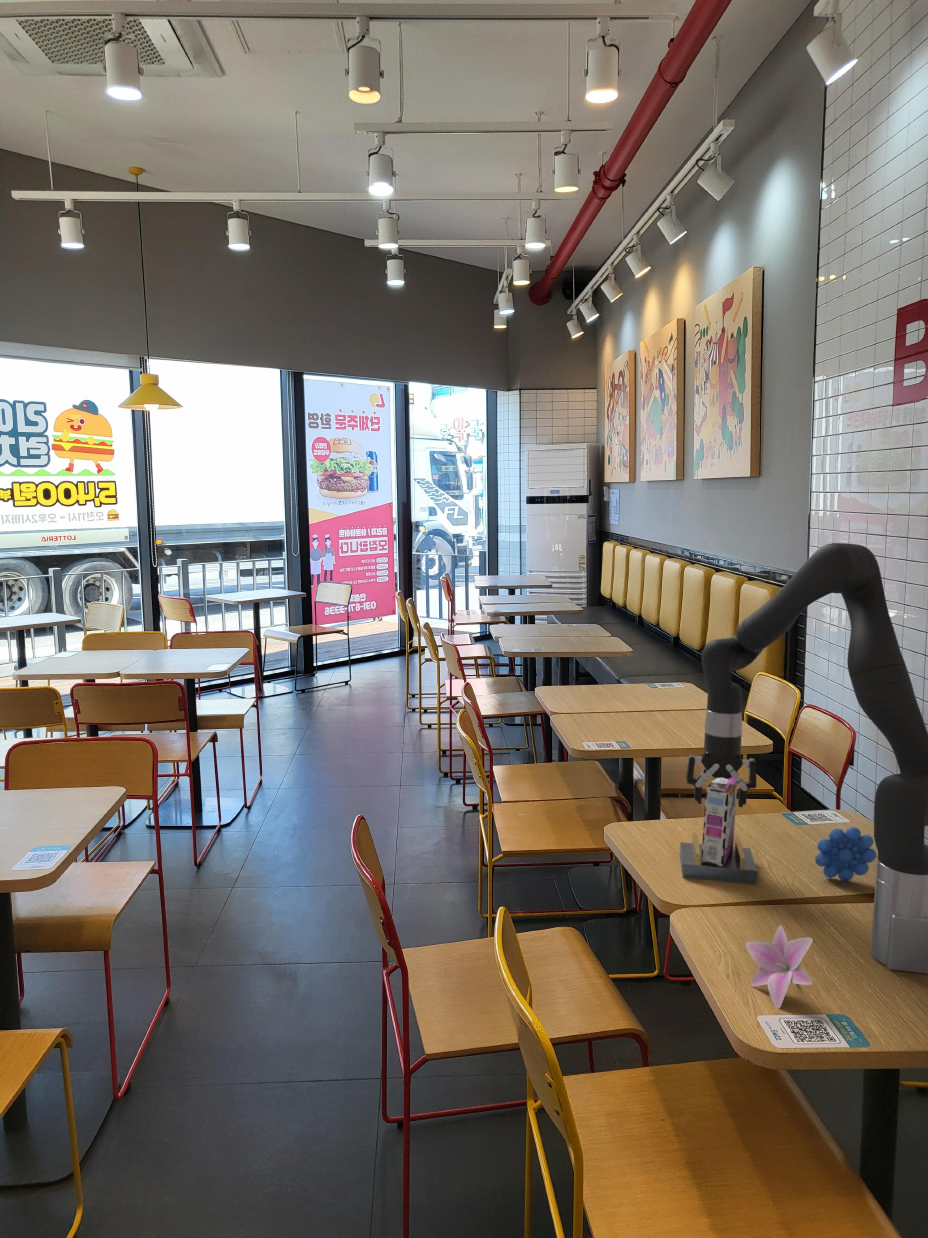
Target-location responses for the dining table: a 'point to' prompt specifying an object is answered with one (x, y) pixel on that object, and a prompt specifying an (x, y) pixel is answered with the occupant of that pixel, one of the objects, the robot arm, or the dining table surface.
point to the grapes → (845, 853)
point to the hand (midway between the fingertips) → (719, 804)
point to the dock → (734, 870)
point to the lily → (779, 964)
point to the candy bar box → (719, 821)
